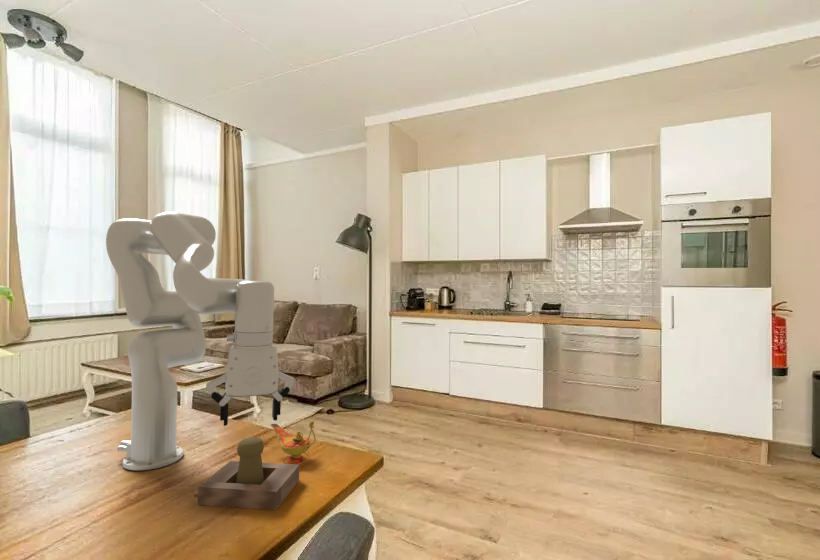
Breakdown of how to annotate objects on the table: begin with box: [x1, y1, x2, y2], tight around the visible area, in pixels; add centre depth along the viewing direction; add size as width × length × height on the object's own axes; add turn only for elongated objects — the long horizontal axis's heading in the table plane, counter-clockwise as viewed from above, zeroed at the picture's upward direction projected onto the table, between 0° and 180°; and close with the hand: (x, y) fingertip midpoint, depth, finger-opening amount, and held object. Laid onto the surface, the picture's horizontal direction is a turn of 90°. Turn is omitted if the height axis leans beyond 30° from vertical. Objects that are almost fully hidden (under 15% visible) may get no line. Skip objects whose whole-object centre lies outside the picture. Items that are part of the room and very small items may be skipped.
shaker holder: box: [197, 460, 300, 511], centre depth 85 cm, size 16×12×4 cm
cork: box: [236, 436, 265, 485], centre depth 85 cm, size 6×6×11 cm
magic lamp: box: [270, 420, 317, 465], centre depth 102 cm, size 7×18×11 cm, turn 52°
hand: (250, 420), depth 86 cm, fingers open, 9 cm apart
